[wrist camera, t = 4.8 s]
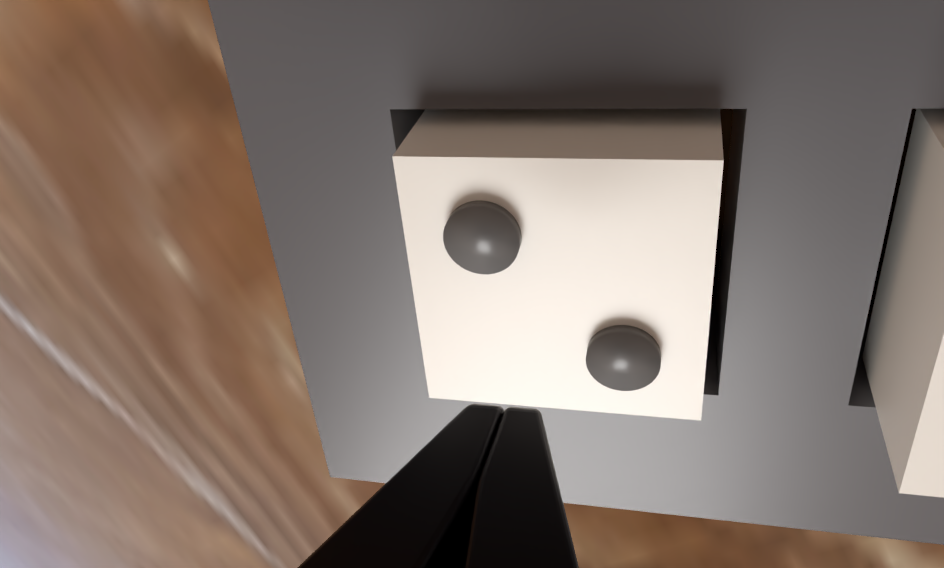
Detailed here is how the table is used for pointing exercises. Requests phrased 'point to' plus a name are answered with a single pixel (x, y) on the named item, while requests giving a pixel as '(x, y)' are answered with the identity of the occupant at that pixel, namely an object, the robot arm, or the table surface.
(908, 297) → the tile one dot
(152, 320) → the table surface
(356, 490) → the table surface
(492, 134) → the tile two dots
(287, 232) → the button panel
